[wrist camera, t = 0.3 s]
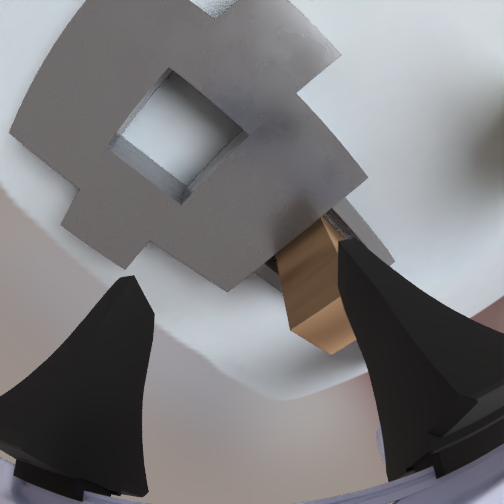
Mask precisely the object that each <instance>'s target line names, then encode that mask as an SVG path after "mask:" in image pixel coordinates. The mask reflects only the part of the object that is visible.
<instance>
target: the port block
mask: <svg viewBox="0 0 504 504" xmlns="http://www.w3.org/2000/svg"><path fill="white" fill-rule="evenodd" d="M340 56H341V53H340V52H339V51H338V50H337V49H336V48H335V47H334V46H333V45H332V43H331V42H330V41H329V40H328V39H327V38H326V37H325V36H324V35H323V34H322V33H321V32H320V31H319V30H318V29H317V27H316V26H315V25H314V24H313V23H312V22H311V21H310V20H309V19H308V18H307V17H306V16H304V15H303V14H302V13H301V12H300V11H299V10H298V9H297V8H296V7H295V6H294V5H293V4H292V3H291V2H290V1H288V0H238V1H237V2H236V3H235V4H233V5H232V6H231V7H230V8H229V9H228V10H226V11H225V12H224V13H223V14H222V15H221V16H220V17H219V18H217V19H216V20H215V19H213V18H212V17H211V16H210V15H208V14H207V13H206V12H204V11H203V10H202V9H200V8H199V7H198V6H196V5H195V4H194V3H192V2H191V1H189V0H86V1H85V3H84V4H83V5H82V6H81V8H80V9H79V10H78V12H77V13H76V14H75V15H74V17H73V18H72V20H71V21H70V22H69V24H68V25H67V27H66V28H65V29H64V31H63V32H62V34H61V35H60V37H59V38H58V40H57V41H56V43H55V44H54V46H53V47H52V49H51V51H50V52H49V54H48V56H47V57H46V59H45V61H44V62H43V64H42V66H41V67H40V69H39V71H38V73H37V75H36V76H35V78H34V80H33V82H32V84H31V86H30V88H29V90H28V92H27V94H26V96H25V98H24V100H23V102H22V104H21V106H20V108H19V110H18V113H17V115H16V117H15V120H14V122H13V124H12V127H11V129H10V132H9V133H10V134H11V135H12V136H13V137H15V138H16V139H17V140H18V141H19V142H21V143H22V144H23V145H24V146H25V147H27V148H28V149H29V150H30V151H32V152H33V153H34V154H35V155H37V156H38V157H39V158H40V159H42V160H43V161H44V162H45V163H47V164H48V165H49V166H50V167H52V168H53V169H54V170H55V171H57V172H58V173H59V174H61V175H62V176H63V177H64V178H66V179H67V180H68V181H70V182H71V183H72V184H74V185H75V186H76V187H78V188H79V189H80V190H79V192H78V194H77V195H76V197H75V199H74V201H73V202H72V204H71V206H70V208H69V210H68V212H67V213H66V215H65V217H64V219H63V221H62V223H61V225H62V226H63V227H64V228H66V229H67V230H68V231H70V232H71V233H72V234H74V235H75V236H77V237H78V238H79V239H81V240H82V241H84V242H85V243H86V244H88V245H89V246H91V247H92V248H94V249H95V250H96V251H98V252H99V253H101V254H102V255H104V256H105V257H107V258H108V259H110V260H111V261H112V262H114V263H115V264H117V265H118V266H120V267H121V268H123V269H124V270H125V269H126V268H127V267H128V266H129V265H130V263H131V262H132V261H133V260H134V259H135V257H136V256H137V255H138V254H139V253H140V251H141V250H142V249H143V248H144V247H145V246H146V244H147V243H148V242H149V241H152V242H153V243H155V244H156V245H157V246H159V247H160V248H162V249H163V250H165V251H166V252H168V253H169V254H170V255H172V256H173V257H175V258H176V259H178V260H179V261H181V262H182V263H184V264H185V265H187V266H188V267H190V268H191V269H193V270H194V271H196V272H197V273H199V274H200V275H202V276H203V277H205V278H206V279H208V280H209V281H211V282H212V283H214V284H215V285H217V286H218V287H220V288H221V289H223V290H224V291H226V292H229V291H230V290H231V289H232V288H234V287H235V286H236V285H237V284H239V283H240V282H241V281H242V280H244V279H245V278H246V277H247V276H249V275H250V274H251V273H252V272H254V271H255V270H256V269H257V268H259V267H260V266H261V265H262V264H264V263H265V262H266V261H267V260H269V259H270V258H271V257H272V256H273V255H275V254H276V253H277V252H278V251H280V250H281V249H282V248H283V247H285V246H286V245H287V244H288V243H290V242H291V241H292V240H293V239H294V238H296V237H297V236H298V235H299V234H301V233H302V232H303V231H304V230H305V229H307V228H308V227H309V226H310V225H312V224H313V223H314V222H315V221H316V220H318V219H319V218H320V217H321V216H323V215H324V214H325V213H326V212H327V211H329V210H330V209H331V208H332V207H333V206H335V205H336V204H337V203H338V202H340V201H341V200H342V199H343V198H344V197H346V196H347V195H348V194H349V193H350V192H352V191H353V190H354V189H355V188H356V187H358V186H359V185H360V184H361V183H362V182H364V181H365V180H366V179H367V178H368V177H367V175H366V174H365V173H364V171H363V170H362V169H361V167H360V166H359V165H358V164H357V162H356V161H355V160H354V159H353V157H352V156H351V155H350V154H349V152H348V151H347V150H346V149H345V147H344V146H343V145H342V144H341V143H340V141H339V140H338V139H337V138H336V137H335V136H334V134H333V133H332V132H331V131H330V130H329V129H328V127H327V126H326V125H325V124H324V123H323V122H322V121H321V120H320V118H319V117H318V116H317V115H316V114H315V113H314V112H313V111H312V110H311V109H310V107H309V106H308V105H307V104H306V103H305V102H304V101H303V100H302V99H301V98H300V97H299V96H298V95H297V94H296V93H297V92H298V91H299V90H300V89H301V88H303V87H304V86H305V85H306V84H307V83H308V82H310V81H311V80H312V79H313V78H314V77H316V76H317V75H318V74H319V73H320V72H322V71H323V70H324V69H325V68H326V67H328V66H329V65H330V64H331V63H333V62H334V61H335V60H336V59H338V58H339V57H340ZM172 71H175V72H176V73H177V74H178V75H180V76H181V77H182V78H183V79H185V80H186V81H187V82H188V83H190V84H191V85H192V86H193V87H195V88H196V89H197V90H198V91H199V92H201V93H202V94H203V95H204V96H205V97H207V98H208V99H209V100H210V101H211V102H212V103H214V104H215V105H216V106H217V107H218V108H219V109H221V110H222V111H223V112H224V113H225V114H226V115H227V116H229V117H230V118H231V119H232V120H233V121H234V122H235V123H236V124H238V125H239V126H240V127H241V128H242V129H243V130H242V131H241V132H240V133H239V134H238V135H237V136H236V137H235V138H234V139H233V140H232V141H231V142H230V143H229V144H228V145H227V146H226V147H225V148H224V149H223V150H222V151H221V152H220V153H219V154H218V155H217V156H216V157H215V158H214V159H213V160H212V161H211V162H210V163H209V164H208V165H207V166H206V167H205V168H204V169H203V170H202V171H201V172H200V173H199V174H198V176H197V177H196V178H195V179H194V180H193V181H192V182H191V183H190V184H189V185H188V186H187V187H186V186H185V185H184V184H182V183H181V182H180V181H178V180H177V179H176V178H175V177H173V176H172V175H171V174H169V173H168V172H167V171H166V170H164V169H163V168H162V167H160V166H159V165H158V164H157V163H155V162H154V161H153V160H152V159H150V158H149V157H148V156H146V155H145V154H144V153H143V152H141V151H140V150H139V149H137V148H136V147H135V146H133V145H132V144H131V143H130V142H128V141H127V140H126V139H124V138H123V137H122V136H121V134H122V133H123V132H124V130H125V129H126V128H127V126H128V125H129V124H130V122H131V121H132V120H133V118H134V117H135V116H136V114H137V113H138V112H139V111H140V109H141V108H142V107H143V105H144V104H145V103H146V102H147V101H148V99H149V98H150V97H151V96H152V94H153V93H154V92H155V91H156V90H157V89H158V87H159V86H160V85H161V84H162V83H163V82H164V80H165V79H166V78H167V77H168V76H169V75H170V74H171V73H172Z"/></svg>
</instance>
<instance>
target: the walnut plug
mask: <svg viewBox="0 0 504 504" xmlns="http://www.w3.org/2000/svg"><path fill="white" fill-rule="evenodd" d="M341 240H346V239H345V238H344V237H343V236H342V235H341V233H340V232H339V231H338V230H337V229H336V228H335V227H334V226H333V225H332V224H331V223H330V222H329V221H328V220H327V219H326V218H325V217H324V216H321V217H320V218H319V219H318V220H316V221H315V222H314V223H313V224H312V225H310V226H309V227H308V228H307V229H305V230H304V231H303V232H302V233H301V234H299V235H298V236H297V237H296V238H294V239H293V240H292V241H291V242H290V243H288V244H287V245H286V246H285V247H283V248H282V249H281V250H280V251H278V252H277V253H276V254H275V256H276V261H277V266H278V271H279V276H280V281H281V286H282V291H283V296H284V301H285V306H286V311H287V316H288V322H289V327H290V330H291V331H292V332H294V333H296V334H297V335H299V336H300V337H302V338H304V339H305V340H307V341H309V342H310V343H312V344H314V345H315V346H317V347H319V348H320V349H322V350H324V351H325V352H327V353H329V354H330V355H332V354H334V353H336V352H337V351H339V350H341V349H342V348H344V347H346V346H347V345H349V344H350V343H352V342H354V341H355V340H356V337H355V335H354V332H353V330H352V327H351V325H350V322H349V320H348V318H347V315H346V313H345V310H344V307H343V303H342V300H341V296H340V293H339V289H338V241H341Z"/></svg>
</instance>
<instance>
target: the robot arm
mask: <svg viewBox="0 0 504 504" xmlns="http://www.w3.org/2000/svg"><path fill="white" fill-rule="evenodd" d="M338 289H339V293H340V296H341V300H342V303H343V307H344V310H345V313H346V315H347V318H348V320H349V322H350V325H351V327H352V330H353V332H354V335H355V337H356V340H357V342H358V345H359V347H360V350H361V352H362V355H363V357H364V360H365V363H366V366H367V369H368V372H369V375H370V379H371V383H372V387H373V392H374V396H375V400H376V405H377V410H378V415H379V420H380V422H379V425H378V429H377V432H376V440H377V447H378V450H379V454H380V456H381V459H382V461H383V463H384V464H385V466H386V473H387V477H388V481H389V482H388V483H385V484H382V485H379V486H375V487H372V488H368V489H364V490H361V491H357V492H353V493H348V494H344V495H340V496H335V497H330V498H325V499H320V500H314V501H308V502H302V503H295V504H388V503H391V502H394V501H395V502H394V503H393V504H504V334H503V333H501V332H498V331H496V330H493V329H491V328H489V327H486V326H484V325H482V324H480V323H477V322H475V321H473V320H471V319H469V318H467V317H466V316H464V315H462V314H460V313H458V312H456V311H454V310H452V309H451V308H449V307H447V306H445V305H444V304H442V303H441V302H439V301H437V300H436V299H434V298H433V297H431V296H429V295H428V294H426V293H425V292H423V291H422V290H420V289H419V288H418V287H416V286H415V285H413V284H412V283H411V282H409V281H408V280H407V279H405V278H404V277H403V276H401V275H400V274H399V273H397V272H396V271H395V270H393V269H392V268H391V267H390V266H388V265H387V264H386V263H385V262H383V261H382V260H381V259H380V258H379V257H377V256H376V255H375V254H374V253H373V252H371V251H370V250H369V249H368V248H367V247H365V246H364V245H363V244H362V243H361V242H359V241H358V240H357V239H356V238H353V239H347V240H341V241H338ZM154 316H155V314H154V312H153V310H152V308H151V306H150V305H149V303H148V301H147V299H146V297H145V295H144V293H143V291H142V290H141V288H140V286H139V284H138V282H137V280H136V278H135V276H134V275H133V276H127V277H121V278H119V279H118V280H117V281H116V282H115V283H114V284H113V285H112V286H111V288H110V289H109V290H108V291H107V292H106V294H105V295H104V296H103V297H102V298H101V299H100V301H99V302H98V303H97V304H96V305H95V307H94V308H93V309H92V310H91V312H90V313H89V314H88V315H87V316H86V318H85V319H84V320H83V321H82V322H81V323H80V324H79V325H78V327H77V328H76V329H75V330H74V331H73V333H72V334H71V335H70V336H69V337H68V339H66V340H65V342H64V343H63V344H62V345H61V346H60V347H59V348H58V349H57V350H56V351H55V352H54V353H53V354H52V355H51V356H50V357H49V358H48V359H47V360H46V361H45V362H43V363H42V364H41V365H40V366H39V367H38V368H37V369H36V370H35V371H33V372H32V373H31V374H30V375H29V376H28V377H26V378H25V379H24V380H23V381H22V382H20V383H19V384H17V385H16V386H15V387H14V388H12V389H11V390H9V391H8V392H6V393H5V394H3V395H2V396H0V450H2V451H4V452H5V453H7V454H9V455H10V456H12V457H14V458H15V459H16V464H13V463H11V462H9V461H6V460H4V459H2V458H0V504H148V503H141V502H135V501H129V500H123V499H118V498H113V497H111V494H112V495H117V496H120V495H121V494H124V495H130V496H136V497H144V496H145V495H146V494H147V493H148V492H149V491H148V486H147V480H146V473H145V467H144V457H143V444H142V401H143V392H144V385H145V379H146V374H147V368H148V363H149V358H150V352H151V347H152V342H153V333H154Z"/></svg>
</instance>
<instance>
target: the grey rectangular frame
mask: <svg viewBox="0 0 504 504" xmlns="http://www.w3.org/2000/svg"><path fill="white" fill-rule="evenodd" d="M332 209H333V210H334V211H335V212H336V213H337V214H338V215H339V216H340V217H341V218H342V219H343V221H344V222H345V223H346V224H347V225H348V226H349V227H350V228H351V230H352V231H353V232H354V233H355V234H356V235H357V236H358V238H359V239H360V240H361V241H362V242H363V243H364V244H365V246H366V247H367V248H368V249H369V250H370V251H371V252H373V253H374V254H375V255H376V256H377V257H379V258H380V259H381V260H382V261H383V262H385V263H386V264H387V265H388V266H390V265H391V264H393V263H394V262H395V261H394V259H393V257H392V256H391V254H390V253H389V251H388V250H387V249H386V247H385V246H384V245H383V243H382V242H381V241H380V239H379V238H378V237H377V236H376V234H375V233H374V232H373V231H372V229H371V228H370V227H369V226H368V224H367V223H366V222H365V221H364V220H363V218H362V217H361V216H360V215H359V213H358V212H357V211H356V210H355V209H354V207H353V206H352V205H351V204H350V203H349V202H348V200H347V199H346V198H345V197H344V198H343V199H342V200H341V201H340V202H338V203H337V204H336V205H335V206H333V207H332ZM254 272H255V273H256V274H257V275H259V276H260V277H261V278H263V279H264V280H266V281H267V282H268V283H270V284H271V285H272V286H274V287H275V288H277V289H278V290H279V291H281V292H282V293H283V291H282V286H281V281H280V276H279V271H278V266H277V262H276V261H274V260H273V259H272V258H270V259H269V260H267V261H266V262H265V263H264V264H262V265H261V266H260V267H259V268H257V269H256V270H255V271H254Z"/></svg>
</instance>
